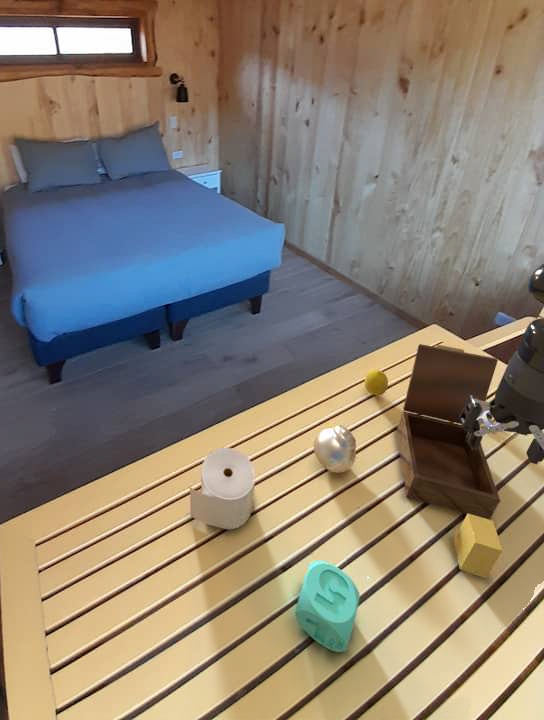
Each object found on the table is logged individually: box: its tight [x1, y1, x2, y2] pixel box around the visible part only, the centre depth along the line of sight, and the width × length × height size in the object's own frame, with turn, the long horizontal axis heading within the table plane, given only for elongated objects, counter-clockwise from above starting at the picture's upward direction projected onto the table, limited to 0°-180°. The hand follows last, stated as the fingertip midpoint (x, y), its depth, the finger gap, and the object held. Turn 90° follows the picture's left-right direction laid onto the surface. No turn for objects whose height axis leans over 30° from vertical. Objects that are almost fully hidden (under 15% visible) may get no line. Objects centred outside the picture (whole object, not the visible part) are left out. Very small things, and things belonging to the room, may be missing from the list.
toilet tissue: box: [189, 447, 256, 530], centre depth 81 cm, size 11×12×10 cm
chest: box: [396, 410, 501, 520], centre depth 87 cm, size 17×15×7 cm
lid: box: [402, 343, 499, 425], centre depth 92 cm, size 18×15×5 cm
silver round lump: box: [313, 424, 357, 474], centre depth 89 cm, size 9×10×10 cm
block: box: [453, 514, 503, 579], centre depth 72 cm, size 4×5×9 cm
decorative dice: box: [294, 560, 361, 653], centre depth 65 cm, size 8×8×8 cm
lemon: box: [364, 369, 389, 396], centre depth 106 cm, size 6×6×8 cm
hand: (500, 452), depth 68 cm, fingers open, 8 cm apart
